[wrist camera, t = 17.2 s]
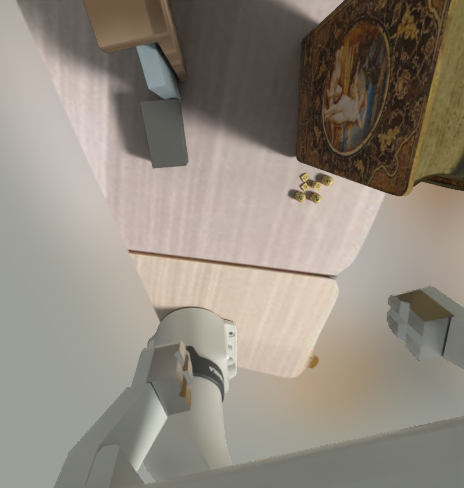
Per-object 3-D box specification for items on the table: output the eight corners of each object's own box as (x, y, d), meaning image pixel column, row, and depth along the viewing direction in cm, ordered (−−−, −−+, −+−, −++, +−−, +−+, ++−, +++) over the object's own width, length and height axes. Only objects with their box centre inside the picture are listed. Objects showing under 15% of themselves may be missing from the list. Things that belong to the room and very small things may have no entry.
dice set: (329, 176, 43) (335, 178, 41) (317, 204, 45) (322, 208, 43) (302, 168, 42) (306, 169, 40) (291, 197, 44) (294, 200, 42)
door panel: (181, 100, 36) (165, 84, 23) (169, 102, 36) (148, 88, 23) (152, -13, 31) (113, -112, 18) (139, -10, 31) (91, -107, 18)
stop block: (188, 161, 40) (185, 165, 35) (159, 163, 39) (152, 168, 35) (180, 102, 36) (176, 98, 32) (148, 104, 36) (139, 101, 32)
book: (301, 31, 34) (488, -164, 11) (341, 29, 34) (602, -164, 12) (295, 160, 41) (404, 201, 18) (329, 158, 41) (477, 195, 18)
